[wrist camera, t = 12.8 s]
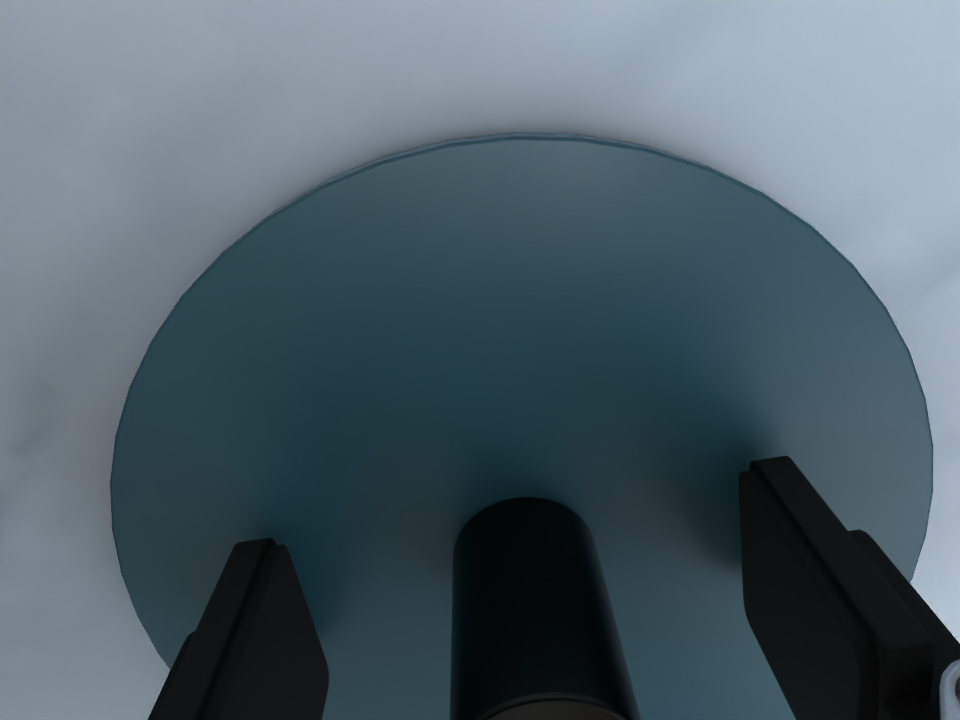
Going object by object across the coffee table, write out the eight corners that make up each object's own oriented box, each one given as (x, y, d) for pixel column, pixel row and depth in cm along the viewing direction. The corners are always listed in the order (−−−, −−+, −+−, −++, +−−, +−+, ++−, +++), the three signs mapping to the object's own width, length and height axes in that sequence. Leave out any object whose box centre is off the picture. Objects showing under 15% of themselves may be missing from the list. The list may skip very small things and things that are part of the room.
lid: (264, 814, 16) (185, 1122, 12) (4, 216, 11) (-333, 344, 6) (881, 728, 16) (1058, 1018, 11) (923, 47, 10) (1298, 51, 6)
